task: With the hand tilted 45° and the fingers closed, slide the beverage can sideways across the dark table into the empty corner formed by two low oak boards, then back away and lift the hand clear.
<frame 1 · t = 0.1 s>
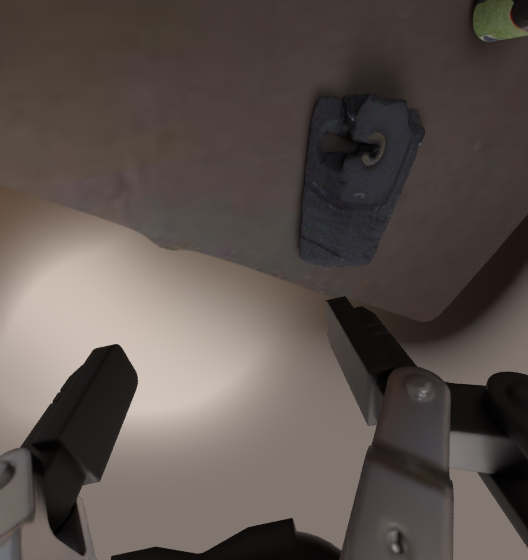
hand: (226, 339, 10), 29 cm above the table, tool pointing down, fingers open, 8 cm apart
beverage can: (488, 17, 30), on the table
grommeted fabric pouch: (347, 191, 37), on the table
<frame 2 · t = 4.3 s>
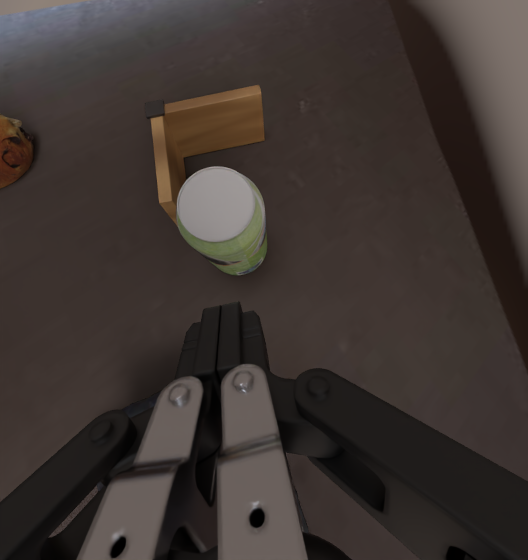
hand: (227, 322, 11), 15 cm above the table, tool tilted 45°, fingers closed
beverage can: (240, 257, 28), on the table
bread roll: (2, 160, 33), on the table
shelf corner: (225, 177, 31), on the table
grommeted fabric pouch: (208, 518, 22), on the table
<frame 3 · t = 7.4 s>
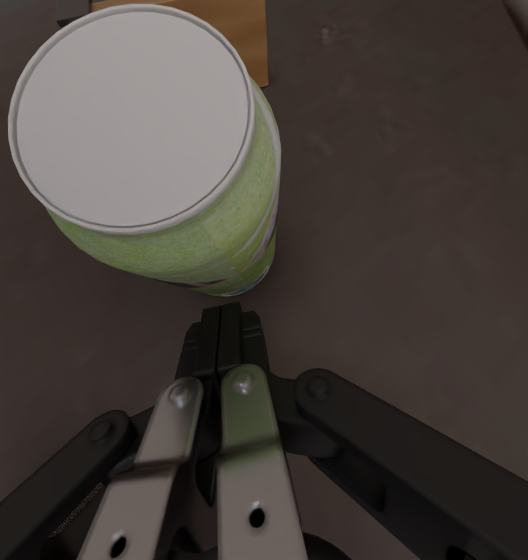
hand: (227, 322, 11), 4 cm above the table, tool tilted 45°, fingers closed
beverage can: (230, 264, 17), on the table, touching gripper
shelf corner: (206, 142, 19), on the table
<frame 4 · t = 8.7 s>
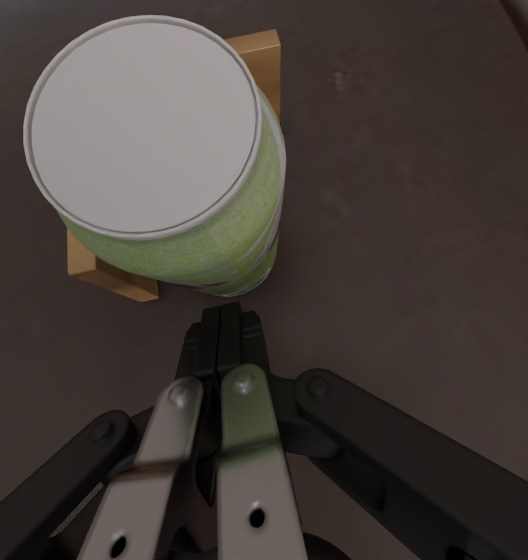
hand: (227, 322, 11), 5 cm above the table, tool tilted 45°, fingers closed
beverage can: (232, 264, 17), on the table, touching gripper
shelf corner: (214, 200, 18), on the table
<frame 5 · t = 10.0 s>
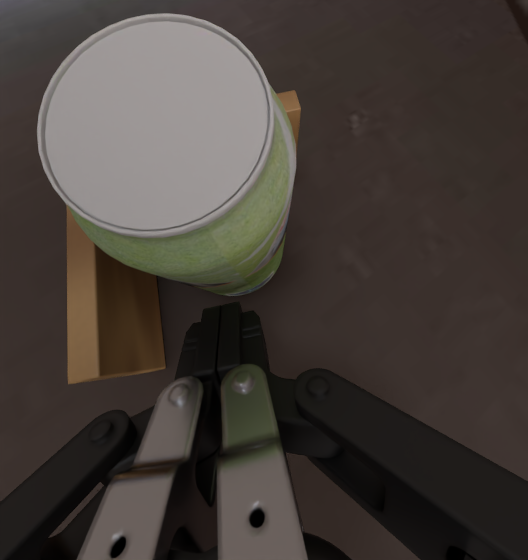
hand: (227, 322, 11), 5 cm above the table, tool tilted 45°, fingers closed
beverage can: (237, 264, 17), on the table, touching gripper
shelf corner: (225, 257, 17), on the table
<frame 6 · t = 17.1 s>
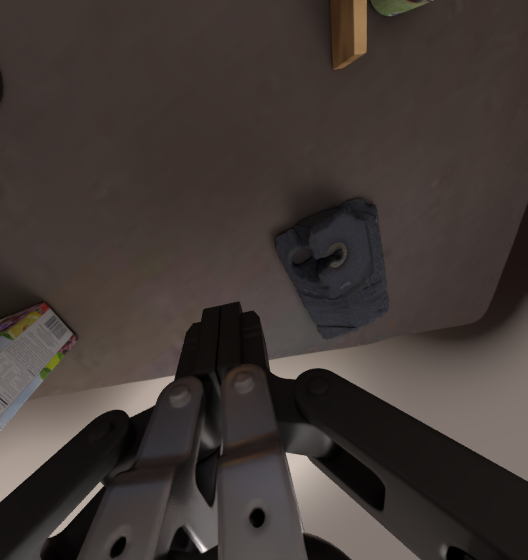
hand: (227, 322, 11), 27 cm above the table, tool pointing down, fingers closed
snack box: (5, 340, 42), on the table
grommeted fabric pouch: (336, 273, 42), on the table
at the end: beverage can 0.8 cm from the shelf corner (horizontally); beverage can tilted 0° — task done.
